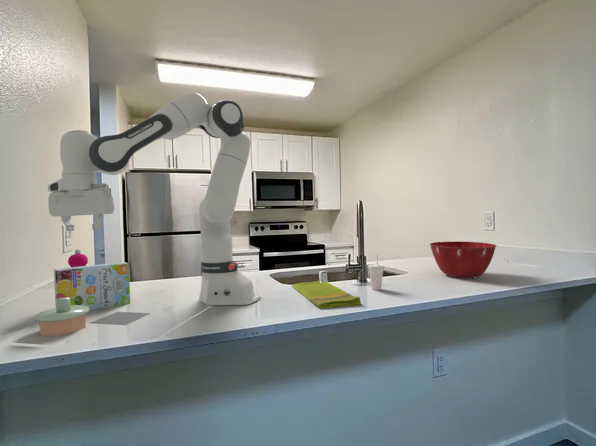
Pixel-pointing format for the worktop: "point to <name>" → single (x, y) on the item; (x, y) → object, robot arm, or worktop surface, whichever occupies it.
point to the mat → (120, 318)
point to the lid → (62, 311)
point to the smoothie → (376, 275)
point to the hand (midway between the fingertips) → (83, 230)
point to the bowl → (62, 326)
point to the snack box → (94, 285)
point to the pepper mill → (77, 259)
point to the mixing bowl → (463, 258)
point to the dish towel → (326, 295)
